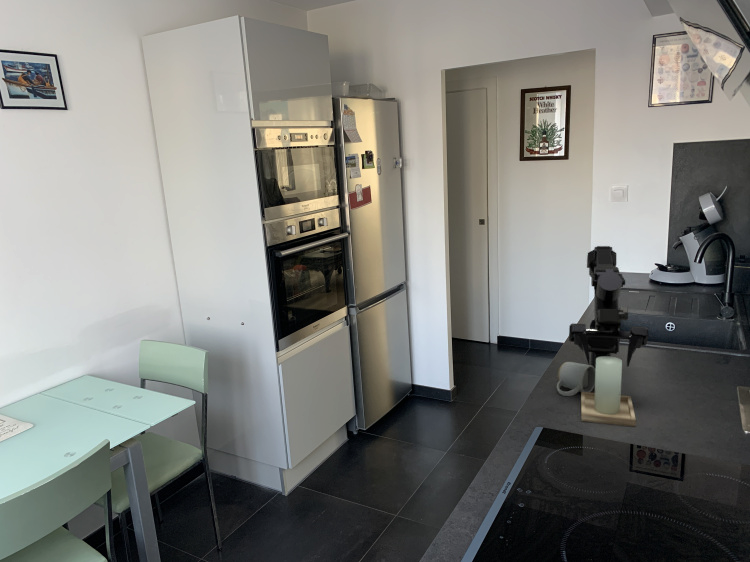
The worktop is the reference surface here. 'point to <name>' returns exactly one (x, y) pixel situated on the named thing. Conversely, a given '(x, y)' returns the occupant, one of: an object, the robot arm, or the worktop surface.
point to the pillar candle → (608, 385)
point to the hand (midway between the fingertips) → (608, 364)
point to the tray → (621, 418)
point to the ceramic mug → (576, 378)
